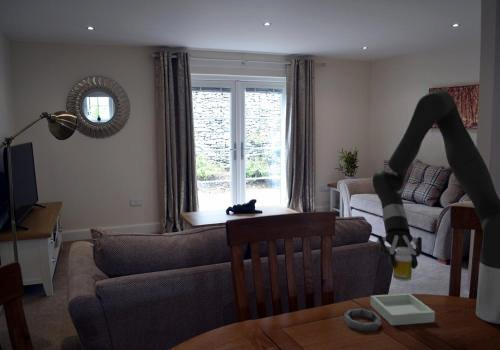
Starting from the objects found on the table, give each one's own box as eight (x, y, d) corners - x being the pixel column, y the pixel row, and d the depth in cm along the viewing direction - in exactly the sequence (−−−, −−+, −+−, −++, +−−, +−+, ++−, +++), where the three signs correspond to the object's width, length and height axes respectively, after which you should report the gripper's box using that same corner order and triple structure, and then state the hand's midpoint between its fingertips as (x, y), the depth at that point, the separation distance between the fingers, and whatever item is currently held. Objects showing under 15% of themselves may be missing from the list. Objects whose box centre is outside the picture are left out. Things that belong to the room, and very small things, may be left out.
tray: (408, 302, 135) (409, 293, 135) (434, 322, 121) (435, 312, 121) (370, 304, 133) (370, 295, 132) (391, 325, 119) (392, 315, 119)
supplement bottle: (410, 282, 122) (412, 252, 121) (392, 279, 124) (393, 249, 123) (411, 276, 127) (413, 247, 126) (394, 274, 129) (395, 245, 128)
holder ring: (370, 313, 126) (370, 307, 126) (385, 329, 117) (386, 323, 116) (340, 315, 125) (340, 309, 125) (353, 332, 115) (353, 325, 115)
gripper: (375, 214, 131) (383, 261, 121) (420, 215, 130) (432, 262, 120) (371, 226, 137) (378, 272, 127) (414, 226, 136) (425, 273, 126)
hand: (404, 267), depth 123 cm, fingers closed on supplement bottle, 5 cm apart
